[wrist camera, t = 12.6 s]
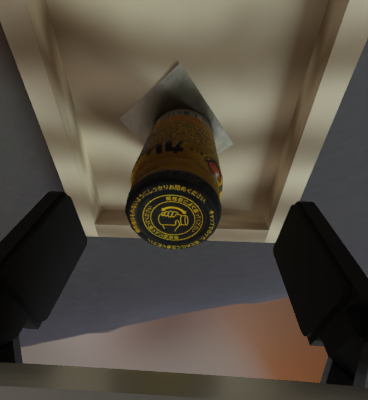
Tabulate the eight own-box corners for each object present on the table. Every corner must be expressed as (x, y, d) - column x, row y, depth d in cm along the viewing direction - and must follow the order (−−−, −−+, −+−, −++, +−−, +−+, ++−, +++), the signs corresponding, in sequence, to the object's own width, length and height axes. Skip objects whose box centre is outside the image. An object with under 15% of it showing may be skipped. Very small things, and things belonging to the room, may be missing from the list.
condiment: (176, 180, 24) (164, 273, 14) (119, 118, 20) (50, 187, 10) (233, 143, 21) (268, 226, 11) (180, 62, 17) (165, 84, 7)
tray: (8, -53, 14) (-38, -78, 11) (369, -49, 14) (414, -74, 11) (92, 217, 28) (82, 235, 26) (272, 223, 28) (281, 243, 25)
